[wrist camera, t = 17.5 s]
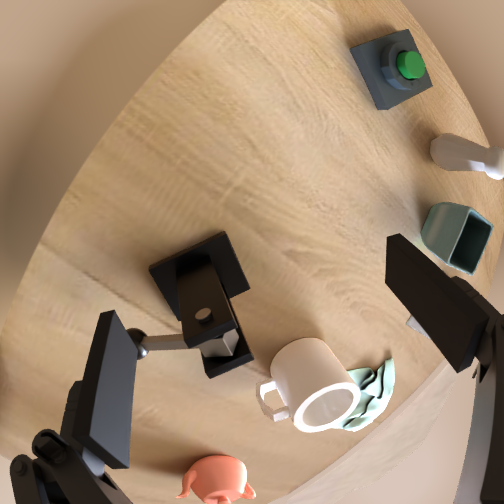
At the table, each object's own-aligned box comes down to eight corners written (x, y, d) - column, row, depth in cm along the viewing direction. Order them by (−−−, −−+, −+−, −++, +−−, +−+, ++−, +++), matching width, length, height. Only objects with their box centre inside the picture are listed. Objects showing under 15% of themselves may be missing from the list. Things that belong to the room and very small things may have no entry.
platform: (442, 270, 51) (467, 285, 45) (472, 302, 58) (492, 316, 52) (405, 324, 53) (427, 343, 47) (442, 346, 60) (460, 363, 54)
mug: (258, 400, 50) (277, 449, 40) (242, 360, 46) (262, 412, 36) (331, 370, 52) (361, 412, 42) (325, 327, 48) (360, 370, 38)
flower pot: (437, 255, 49) (473, 277, 41) (407, 242, 46) (446, 264, 38) (456, 209, 47) (494, 225, 39) (428, 191, 44) (470, 206, 36)
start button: (403, 82, 33) (412, 81, 31) (391, 56, 31) (400, 54, 30) (420, 74, 33) (428, 73, 31) (409, 49, 31) (418, 48, 30)
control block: (377, 109, 37) (396, 109, 33) (348, 48, 33) (366, 43, 30) (423, 86, 37) (441, 85, 34) (398, 31, 33) (417, 26, 30)
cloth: (355, 434, 64) (359, 441, 61) (292, 419, 54) (297, 428, 52) (417, 372, 61) (423, 379, 59) (368, 342, 52) (375, 350, 49)
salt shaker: (447, 129, 41) (512, 140, 29) (450, 164, 43) (513, 181, 32) (423, 134, 40) (492, 145, 28) (427, 171, 42) (493, 190, 31)
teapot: (233, 482, 60) (243, 515, 51) (160, 472, 53) (164, 510, 44) (261, 457, 57) (275, 492, 49) (183, 445, 50) (190, 486, 42)
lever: (137, 344, 34) (124, 366, 31) (122, 322, 32) (106, 344, 29) (242, 337, 29) (234, 364, 26) (228, 309, 28) (218, 337, 25)
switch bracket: (178, 316, 40) (189, 400, 27) (148, 266, 37) (143, 340, 24) (248, 284, 41) (288, 357, 28) (224, 230, 38) (259, 288, 25)
